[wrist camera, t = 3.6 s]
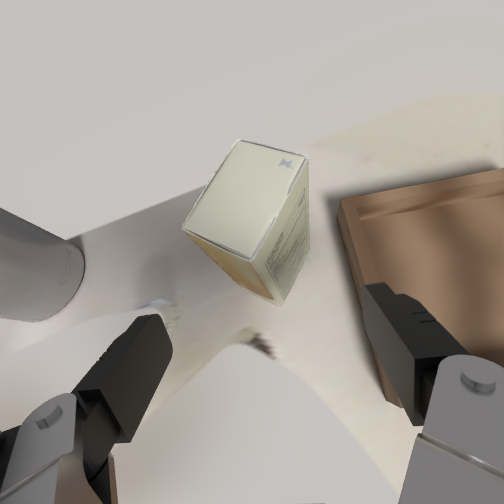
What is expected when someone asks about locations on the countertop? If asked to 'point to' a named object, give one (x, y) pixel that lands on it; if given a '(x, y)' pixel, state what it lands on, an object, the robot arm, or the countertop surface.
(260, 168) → the skincare box
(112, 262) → the countertop surface
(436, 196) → the walnut tray
